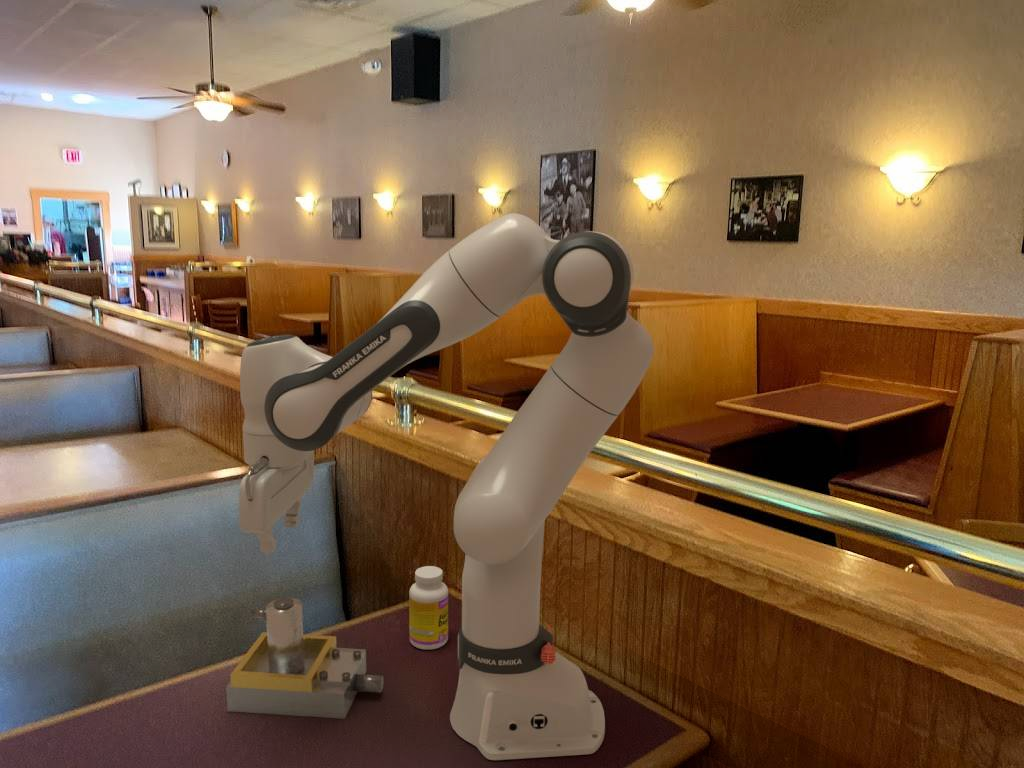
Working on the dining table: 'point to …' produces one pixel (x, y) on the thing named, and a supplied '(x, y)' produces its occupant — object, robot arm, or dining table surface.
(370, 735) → the dining table surface
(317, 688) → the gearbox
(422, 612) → the supplement bottle
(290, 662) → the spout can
